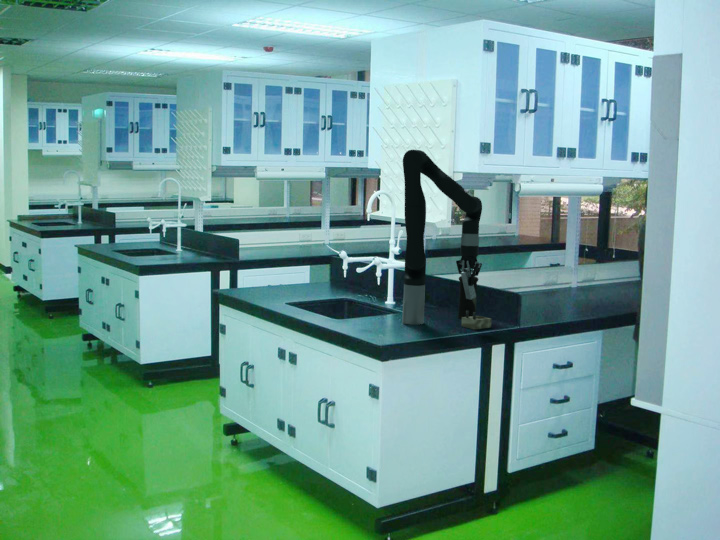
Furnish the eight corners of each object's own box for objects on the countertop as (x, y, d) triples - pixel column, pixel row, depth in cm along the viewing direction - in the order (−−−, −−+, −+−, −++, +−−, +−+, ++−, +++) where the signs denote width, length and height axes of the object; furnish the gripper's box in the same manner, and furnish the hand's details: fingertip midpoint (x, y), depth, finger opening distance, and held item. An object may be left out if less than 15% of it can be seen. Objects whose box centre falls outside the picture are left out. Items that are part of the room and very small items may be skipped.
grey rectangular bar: (471, 299, 318) (465, 273, 314) (466, 298, 320) (460, 272, 316) (476, 296, 319) (470, 270, 316) (471, 295, 322) (465, 269, 318)
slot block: (474, 329, 321) (475, 313, 320) (461, 326, 327) (462, 310, 326) (491, 327, 326) (491, 311, 326) (478, 324, 333) (478, 308, 332)
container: (466, 321, 340) (468, 277, 338) (453, 318, 347) (454, 275, 345) (480, 319, 345) (482, 276, 343) (466, 316, 352) (468, 274, 350)
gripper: (488, 245, 312) (486, 287, 314) (464, 242, 324) (462, 282, 325) (474, 245, 308) (472, 287, 310) (451, 243, 319) (449, 283, 321)
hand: (467, 285), depth 318 cm, fingers closed on grey rectangular bar, 3 cm apart
